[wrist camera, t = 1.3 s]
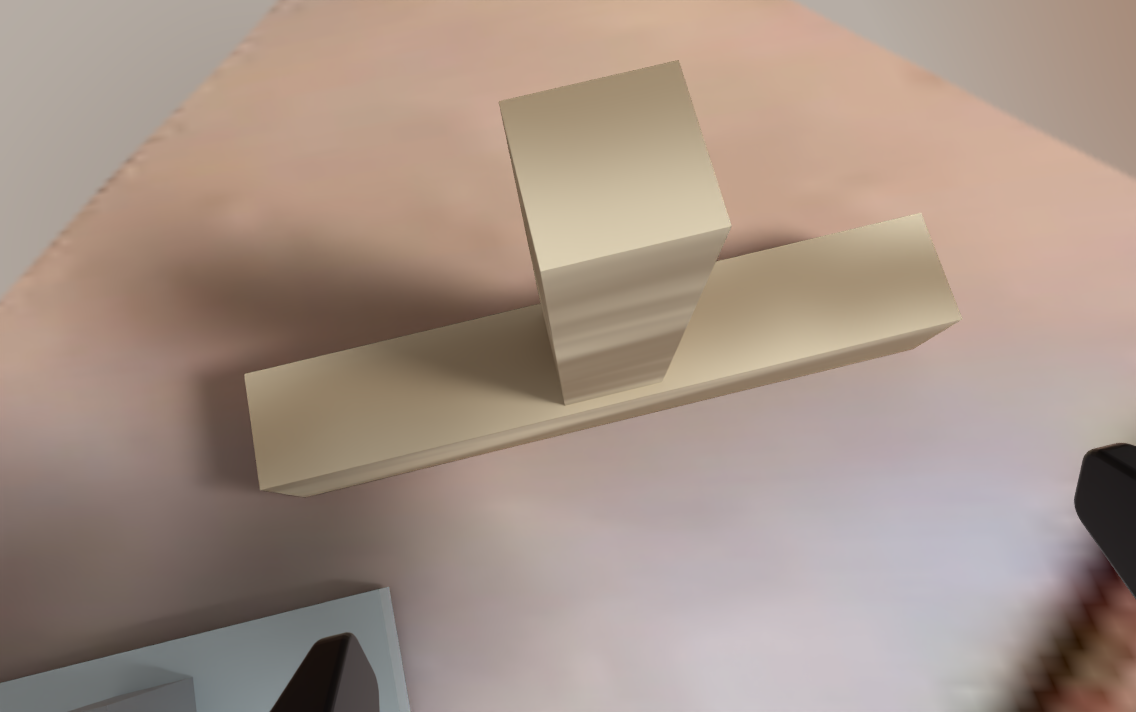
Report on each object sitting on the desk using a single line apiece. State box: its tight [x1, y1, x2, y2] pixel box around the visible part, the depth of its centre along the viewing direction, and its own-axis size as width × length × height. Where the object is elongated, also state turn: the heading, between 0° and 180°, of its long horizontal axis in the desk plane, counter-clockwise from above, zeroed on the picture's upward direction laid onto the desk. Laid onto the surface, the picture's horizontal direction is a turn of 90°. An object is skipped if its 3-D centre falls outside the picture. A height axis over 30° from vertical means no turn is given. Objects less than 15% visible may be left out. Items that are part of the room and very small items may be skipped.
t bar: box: [244, 60, 962, 497], centre depth 16 cm, size 3×18×12 cm, turn 104°
